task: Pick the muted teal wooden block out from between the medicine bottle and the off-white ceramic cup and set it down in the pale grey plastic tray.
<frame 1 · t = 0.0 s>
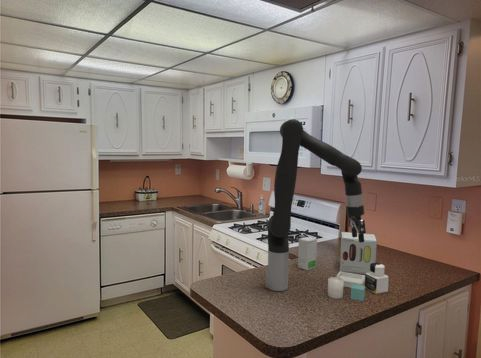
hand: (358, 239, 160), 22 cm above the worktop, tool pointing down, fingers open, 8 cm apart
cup: (335, 295, 153), on the worktop
skincare box: (306, 267, 188), on the worktop
medicine bottle: (376, 290, 159), on the worktop
block: (357, 298, 150), on the worktop
supplement box: (356, 269, 186), on the worktop
tray: (349, 282, 167), on the worktop
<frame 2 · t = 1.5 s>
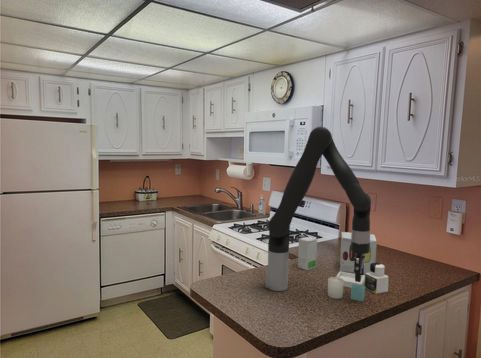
hand: (359, 278, 150), 9 cm above the worktop, tool pointing down, fingers open, 8 cm apart
nothing on the worktop moved.
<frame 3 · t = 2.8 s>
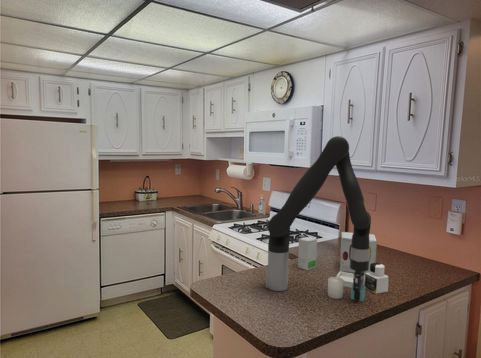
hand: (357, 296, 150), 0 cm above the worktop, tool pointing down, fingers closed on block, 5 cm apart
block: (357, 298, 150), on the worktop, touching gripper
everything else where it was.
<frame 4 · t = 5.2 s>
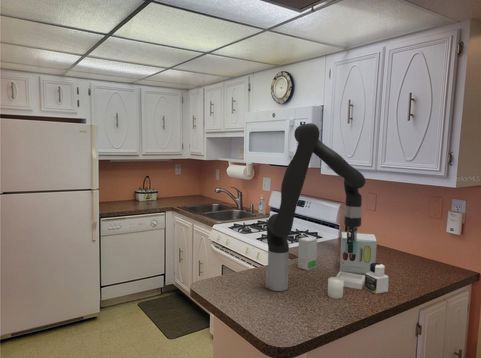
hand: (351, 251, 166), 15 cm above the worktop, tool pointing down, fingers closed on block, 5 cm apart
block: (351, 252, 166), point 15 cm above the worktop, touching gripper
everything else where it was.
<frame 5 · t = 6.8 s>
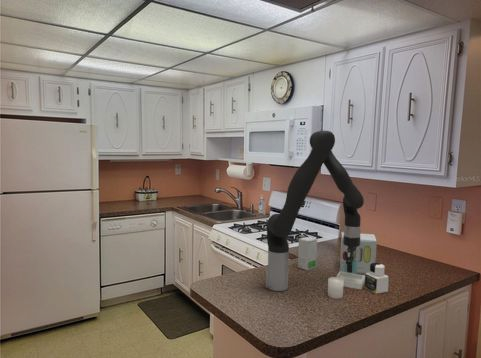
hand: (350, 270, 167), 6 cm above the worktop, tool pointing down, fingers closed on block, 5 cm apart
block: (350, 271, 167), point 5 cm above the worktop, touching gripper
everything else where it was.
when the fingers open (3 cm above the worktop, at t = 7.9 s): block drops 2 cm, resting on tray.
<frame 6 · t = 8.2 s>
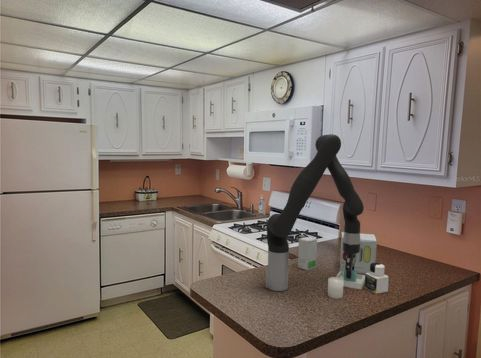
hand: (350, 275, 167), 3 cm above the worktop, tool pointing down, fingers open, 7 cm apart
block: (349, 281, 167), point 1 cm above the worktop, touching tray
everything else where it was.
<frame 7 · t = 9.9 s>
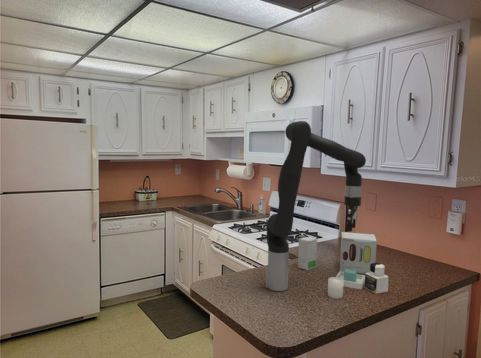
hand: (351, 229, 167), 25 cm above the worktop, tool pointing down, fingers open, 8 cm apart
nothing on the worktop moved.
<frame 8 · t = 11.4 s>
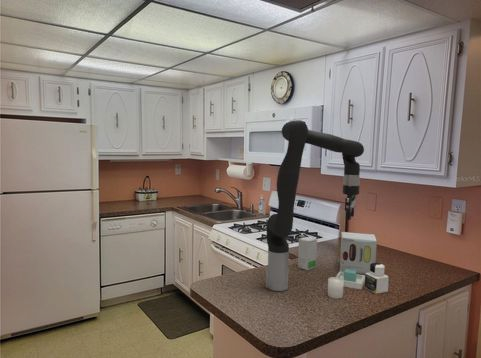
hand: (349, 218, 169), 30 cm above the worktop, tool pointing down, fingers open, 8 cm apart
nothing on the worktop moved.
at the end: block inside the target area on the tray (0.0 cm from its centre), point 0.6 cm above the tray's base; the gripper is holding nothing; cup moved 0.1 cm from its start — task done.
